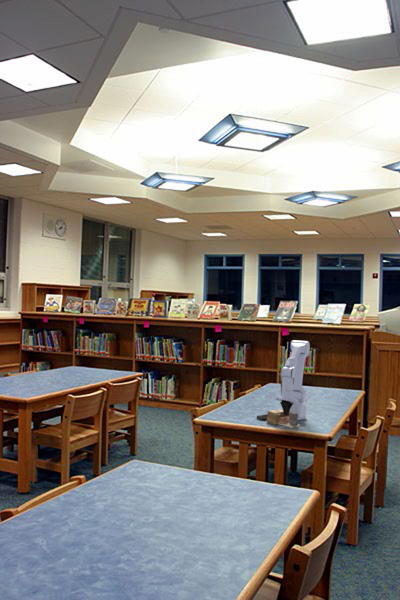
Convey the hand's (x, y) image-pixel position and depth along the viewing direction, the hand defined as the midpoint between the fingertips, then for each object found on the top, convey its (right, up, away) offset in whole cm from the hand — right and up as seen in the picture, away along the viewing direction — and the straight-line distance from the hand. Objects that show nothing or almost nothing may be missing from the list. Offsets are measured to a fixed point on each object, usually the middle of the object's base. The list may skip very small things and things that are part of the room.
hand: (286, 415), depth 276 cm
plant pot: (+17, -7, +89) cm, 91 cm away
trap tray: (-10, -5, +11) cm, 15 cm away
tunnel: (-3, -5, +4) cm, 7 cm away
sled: (-1, -5, +1) cm, 5 cm away
